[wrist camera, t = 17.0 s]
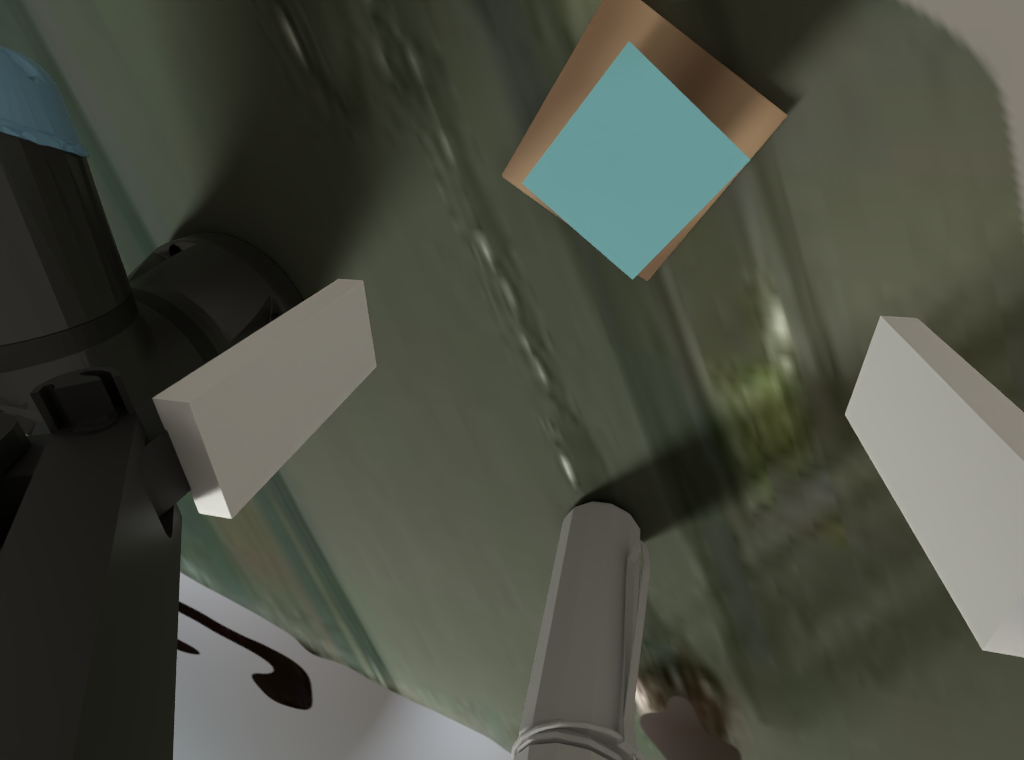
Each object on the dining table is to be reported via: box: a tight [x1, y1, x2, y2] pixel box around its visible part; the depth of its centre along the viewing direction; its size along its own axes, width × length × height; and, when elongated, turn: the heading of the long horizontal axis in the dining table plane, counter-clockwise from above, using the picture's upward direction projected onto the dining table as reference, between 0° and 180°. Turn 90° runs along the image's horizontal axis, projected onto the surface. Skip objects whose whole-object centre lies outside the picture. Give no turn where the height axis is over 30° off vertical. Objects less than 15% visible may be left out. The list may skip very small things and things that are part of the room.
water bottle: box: [511, 501, 650, 760], centre depth 38 cm, size 9×8×25 cm
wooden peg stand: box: [502, 0, 788, 281], centre depth 29 cm, size 12×12×10 cm
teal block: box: [522, 41, 750, 280], centre depth 26 cm, size 7×7×6 cm
